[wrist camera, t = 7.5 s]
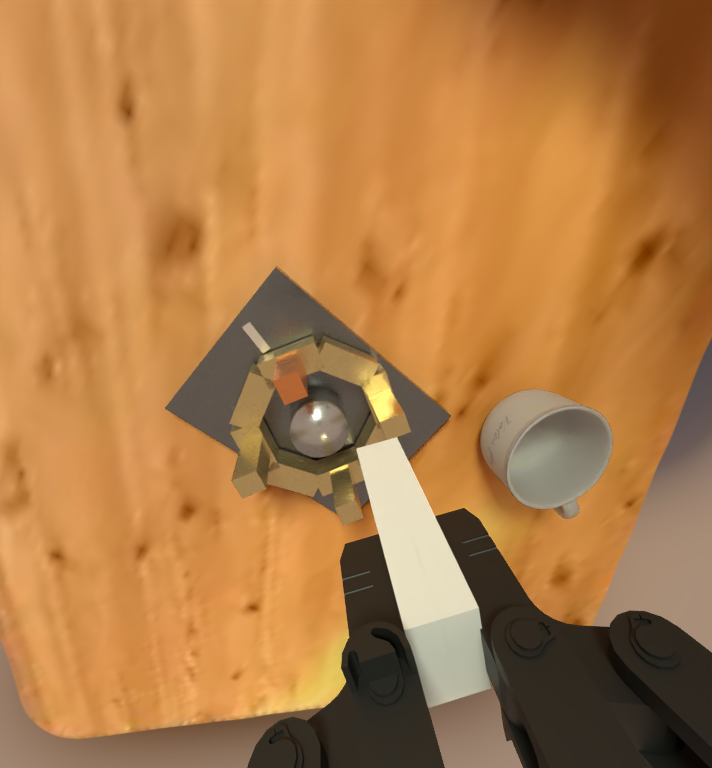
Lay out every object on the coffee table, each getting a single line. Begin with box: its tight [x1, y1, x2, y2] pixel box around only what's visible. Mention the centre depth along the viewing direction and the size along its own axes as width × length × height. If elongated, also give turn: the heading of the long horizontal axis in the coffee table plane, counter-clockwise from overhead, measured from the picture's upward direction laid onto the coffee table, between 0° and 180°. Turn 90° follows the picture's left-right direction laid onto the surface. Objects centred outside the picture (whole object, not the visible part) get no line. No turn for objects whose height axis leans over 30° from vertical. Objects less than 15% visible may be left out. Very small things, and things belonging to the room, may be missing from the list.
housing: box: [165, 266, 451, 514], centre depth 34 cm, size 16×22×6 cm
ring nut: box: [229, 335, 411, 526], centre depth 32 cm, size 14×14×8 cm
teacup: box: [480, 389, 613, 519], centre depth 38 cm, size 14×11×8 cm
